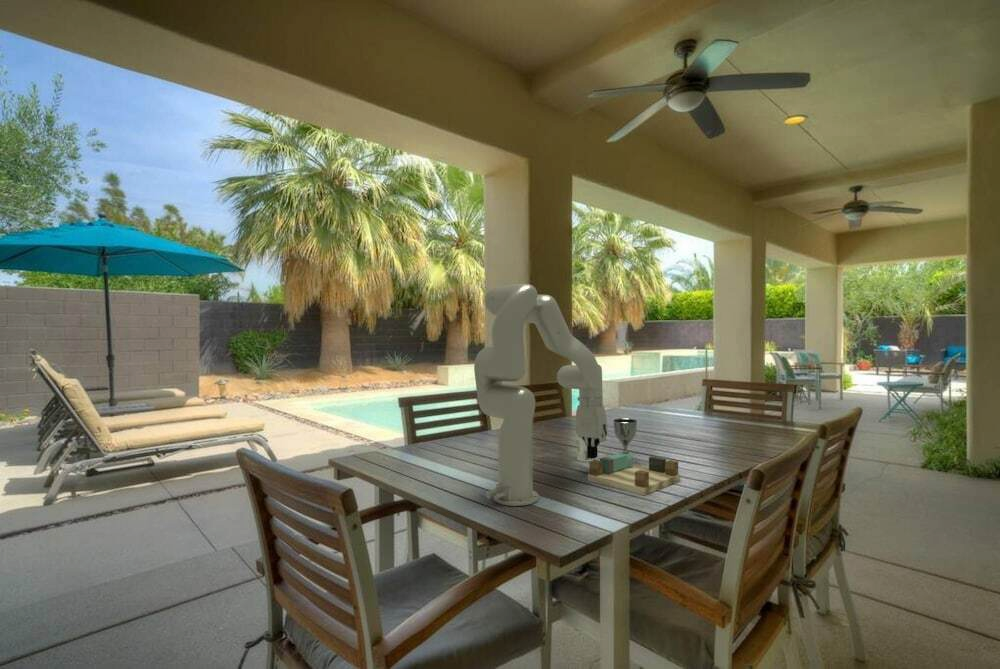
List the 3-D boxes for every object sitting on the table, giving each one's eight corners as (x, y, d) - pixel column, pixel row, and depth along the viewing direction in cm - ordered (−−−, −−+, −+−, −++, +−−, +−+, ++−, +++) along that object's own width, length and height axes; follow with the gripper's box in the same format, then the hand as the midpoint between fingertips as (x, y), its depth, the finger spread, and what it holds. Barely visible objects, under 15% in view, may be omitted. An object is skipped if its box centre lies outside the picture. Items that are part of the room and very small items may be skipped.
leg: (610, 473, 158) (610, 459, 158) (598, 471, 161) (598, 456, 161) (635, 465, 167) (635, 451, 167) (624, 463, 170) (623, 449, 170)
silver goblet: (641, 462, 179) (640, 420, 179) (630, 467, 173) (630, 423, 173) (620, 459, 185) (620, 417, 185) (609, 463, 179) (609, 420, 179)
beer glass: (593, 462, 180) (593, 420, 180) (574, 461, 183) (573, 419, 183) (596, 457, 187) (596, 416, 187) (577, 456, 189) (577, 416, 189)
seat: (644, 495, 144) (643, 474, 144) (587, 480, 159) (587, 461, 159) (680, 481, 157) (680, 461, 157) (625, 468, 172) (625, 450, 172)
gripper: (566, 401, 169) (567, 455, 170) (602, 405, 158) (604, 464, 159) (580, 398, 174) (581, 451, 175) (617, 402, 163) (618, 459, 164)
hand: (592, 457), depth 167 cm, fingers closed
